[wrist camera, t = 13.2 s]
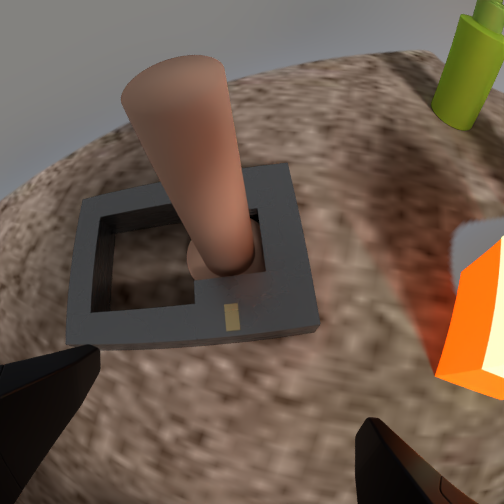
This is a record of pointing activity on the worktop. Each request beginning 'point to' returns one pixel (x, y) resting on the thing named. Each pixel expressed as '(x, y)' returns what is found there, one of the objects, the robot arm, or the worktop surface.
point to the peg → (197, 161)
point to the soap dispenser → (471, 65)
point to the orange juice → (478, 328)
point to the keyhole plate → (206, 291)
